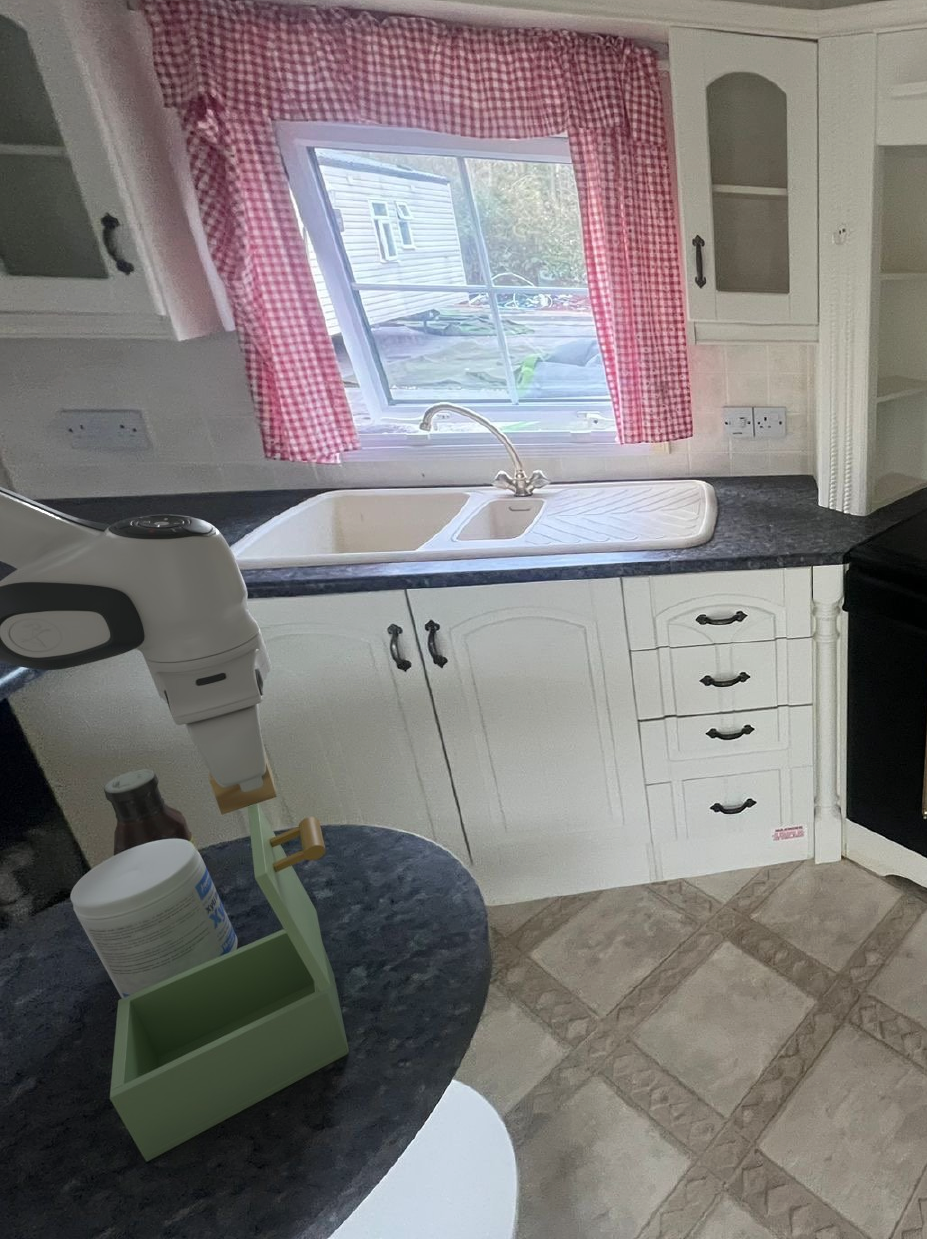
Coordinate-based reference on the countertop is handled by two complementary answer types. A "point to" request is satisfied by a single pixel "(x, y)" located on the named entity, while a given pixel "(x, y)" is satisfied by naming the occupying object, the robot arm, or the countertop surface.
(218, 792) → the block
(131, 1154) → the countertop surface
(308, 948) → the lid
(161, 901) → the supplement tub
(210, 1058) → the chest
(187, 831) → the sauce bottle
